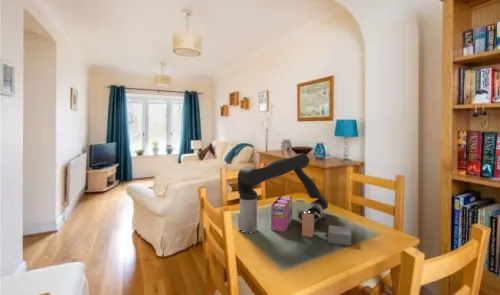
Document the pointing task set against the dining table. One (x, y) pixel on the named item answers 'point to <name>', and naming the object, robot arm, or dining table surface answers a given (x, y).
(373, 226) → the dining table surface
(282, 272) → the dining table surface
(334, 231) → the grey base block
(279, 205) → the gum box
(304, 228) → the terracotta block
